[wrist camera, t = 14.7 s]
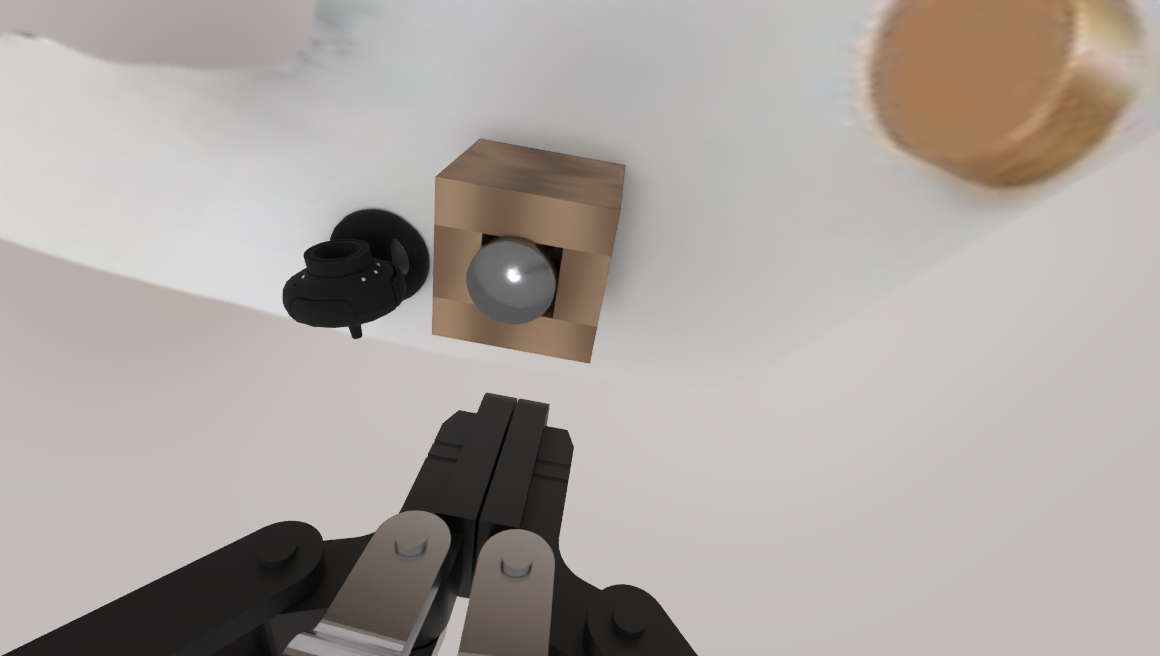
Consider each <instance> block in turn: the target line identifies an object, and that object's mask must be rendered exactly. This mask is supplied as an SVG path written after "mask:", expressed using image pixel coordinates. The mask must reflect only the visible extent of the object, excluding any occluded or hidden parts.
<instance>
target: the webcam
mask: <svg viewBox="0 0 1160 656" xmlns="http://www.w3.org/2000/svg"><path fill="white" fill-rule="evenodd" d="M392 239H396V240H397V241H398V242H399V243H400V244H401V245H402V247H403V248H404V250H405V251H406V254H407V256H408V260H409V270H408V273H407V275H406V277H405V278H404V275H403V273H402V271H401V270H400V269H399V268H398V267H397V266H396V265H395V264H393V262H392V256H391V241H392ZM304 259H305V263H306V266H307V268H305V269H303V270H302V271H300V272H299V273H297V274H296V275H294V276H292V277H291V278H290V279H289V280H288V281H287V282H286V284H285V286H284V288H283V304H284V307H285V309H286V310H287V312H288V314H289V315H290V316H291V317H292V318H293V319H294V320H296V321H297V322H299V323H303V324H307V325H310V326H313V327H326V328H337V327H349V329H350V332H351V335H352V338H354V339H358V338H361V337H362V330H361V324H364V323H367V322H371V321H374V320H376V319H378V318H380V317H382V316H385V315H387V314H388V313H390V312H391V311H393V310H395V308H396V307H397V306H399V305H400V303H401V302H402V301H403V300H405V299H407V298H410V297H411V296H413V295H414V294H415V293H416V292H417V291H419V289H420V288H421V287H422V285H423V284H424V282H425V279H426V277H427V273H428V255H427V252H426V249H425V246H424V244H423V242H422V240H421V238H420V237H419V235H418V234H417V233H416V231H415V230H413V229H412V228H411V227H410V226H409V225H408V224H406V223H405V222H404V221H402V220H401V219H400V218H399V217H397V216H395V215H392V214H390V213H387V212H383V211H380V210H361V211H357V212H354V213H352V214H350V215H348V216H346V217H345V218H344V219H343V220H342V221H341V222H340V223H339V224H338V225H337V226H336V227H335V228H334V230H333V233H332V235H331V237H330V241H327V242H323V243H319V244H317V245H315V246H312V247H310V248H309V249H307V250H306V251H305V252H304Z"/></svg>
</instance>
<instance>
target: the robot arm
mask: <svg viewBox="0 0 1160 656" xmlns="http://www.w3.org/2000/svg"><path fill="white" fill-rule="evenodd" d="M548 413H549V404H546V403H541V402H535V401H530V400H524V399H519V400H518V402H517V398H513V397H507V396H502V395H496V394H491V393H486V394H485V395H484V397H483V400H482V402H481V405H480V407H479V409H478V412H477V413H471V412H466V411H460V410H459V411H458V412H456V413H455V414H454V415H452V416H451V417H450V418H449V419H448V420H446V421H445V422H444V423H443V424H442V426H441V428H440V430H439V433H438V434H437V436H436V439H435V442H434V444H433V445H432V447H431V449H430V451H429V453H428V457H427V458H426V459H425V461H424V463H423V465H422V467H421V470H420V472H419V474H418V476H417V478H416V480H415V482H414V484H413V486H412V489H411V490H410V492H409V494H408V496H407V498H406V501H405V503H404V505H403V507H402V509H401V510H400V512H399V514H397V515H394V516H393V517H391V518H389V519H388V520H386V521H385V522H383V523H382V524H381V526H379V528H378V529H377V530H376V532H374V533H372V534H369V535H365V536H361V537H355V538H346V539H336V540H327V541H323V539H322V536H321V534H320V532H319V531H318V530H317V529H316V528H314V527H313V526H312V525H309V524H307V523H304V522H300V521H284V522H278V523H274V524H271V525H269V526H266V527H264V528H261V529H259V530H257V531H256V532H253V533H251V534H249V535H247V536H245V537H243V538H241V539H239V540H237V541H235V542H233V543H231V544H229V545H227V546H225V547H223V548H221V549H219V550H217V551H215V552H212V553H210V554H208V555H206V556H204V557H202V558H200V559H198V560H196V561H194V562H192V563H190V564H188V565H186V566H184V567H182V568H180V569H178V570H176V571H174V572H172V573H170V574H168V575H166V576H163V577H161V578H159V579H157V580H155V581H153V582H151V583H149V584H147V585H145V586H143V587H141V588H139V589H137V590H135V591H133V592H131V593H129V594H127V595H125V596H123V597H121V598H119V599H117V600H114V601H113V602H110V603H109V604H106V605H104V606H102V607H100V608H98V609H96V610H94V611H92V612H90V613H88V614H86V615H84V616H82V617H80V618H78V619H76V620H74V621H72V622H70V623H68V624H66V625H63V626H61V627H59V628H57V629H55V630H53V631H51V632H49V633H47V634H45V635H43V636H41V637H39V638H37V639H35V640H33V641H31V642H29V643H27V644H25V645H23V646H21V647H19V648H17V649H14V650H12V651H10V652H8V653H7V654H4V655H2V656H437V655H438V652H439V650H440V647H441V645H442V642H443V640H444V637H445V633H446V629H447V624H448V621H449V619H450V616H451V613H452V610H453V606H454V603H455V600H456V597H457V596H459V597H464V598H470V600H469V605H468V609H467V614H466V618H465V623H464V628H463V632H462V637H461V642H460V646H459V651H458V655H457V656H697V654H696V653H695V652H694V650H693V649H692V648H691V646H690V645H689V643H688V642H687V641H686V640H685V638H684V637H683V635H682V634H681V633H680V631H679V630H678V628H677V627H676V626H675V625H674V623H673V622H672V620H671V619H670V618H669V616H668V615H667V614H666V612H665V611H664V610H663V608H662V607H661V605H660V604H659V603H658V602H657V601H656V600H655V598H653V597H652V596H651V595H650V594H649V593H647V592H645V591H644V590H642V589H640V588H638V587H634V586H631V585H625V584H622V585H621V584H620V585H613V586H610V587H607V588H605V589H604V590H600V589H598V588H596V587H595V586H593V585H591V584H589V583H587V582H585V581H584V580H582V579H580V578H579V577H577V576H576V575H575V574H574V573H572V571H571V570H570V569H569V568H568V567H567V566H566V564H565V563H564V561H563V559H562V557H561V554H560V551H559V534H560V528H561V522H562V516H563V510H564V504H565V498H566V492H567V486H568V480H569V474H570V467H571V461H572V456H573V449H574V446H573V444H572V441H571V438H570V436H569V433H568V431H567V430H564V429H558V428H553V427H548V426H547V420H548Z"/></svg>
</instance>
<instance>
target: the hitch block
mask: <svg viewBox="0 0 1160 656" xmlns="http://www.w3.org/2000/svg"><path fill="white" fill-rule="evenodd" d="M624 171H625V165H621V164H615V163H610V162H604V161H599V160H593V159H588V158H582V157H577V156H571V155H566V154H560V153H555V152H549V151H544V150H539V149H533V148H528V147H522V146H517V145H511V144H506V143H500V142H495V141H489V140H484V139H479V140H478V141H477V142H476V143H474V144H473V145H472V146H471V147H470V148H469V149H467V150H466V151H465V152H464V153H463V154H462V155H460V156H459V157H458V158H457V159H456V160H455V161H453V162H452V163H451V164H450V165H449V166H448V167H446V168H445V169H444V170H443V171H442V172H441V173H439V174H438V175H437V176H436V180H435V225H434V270H433V315H432V335H438V336H443V337H449V338H454V339H459V340H465V341H470V342H476V343H481V344H487V345H492V346H497V347H503V348H508V349H514V350H519V351H525V352H530V353H535V354H541V355H546V356H552V357H557V358H563V359H568V360H574V361H579V362H584V363H590V360H591V355H592V350H593V345H594V340H595V335H596V330H597V325H598V320H599V315H600V310H601V305H602V300H603V295H604V290H605V285H606V280H607V275H608V270H609V265H610V260H611V255H612V250H613V245H614V240H615V235H616V230H617V225H618V220H619V215H620V209H621V199H622V190H623V181H624ZM501 236H520V237H524V238H527V239H529V240H531V241H533V242H535V243H539V244H544V245H550V246H555V247H561V248H563V254H562V255H560V254H555V253H550V257H551V259H552V261H553V263H554V265H555V268H556V272H557V286H556V290H555V294H554V297H553V300H552V302H551V305H550V306H549V308H548V309H547V310H546V312H545V313H544V314H543V315H542V316H540V317H539V318H537V319H535V320H533V321H531V322H528V323H524V324H506V323H502V322H499V321H496V320H494V319H492V318H490V317H488V316H487V315H485V314H484V313H483V312H482V311H480V310H479V308H478V307H477V306H476V305H475V304H474V302H473V301H472V299H471V297H470V295H469V293H468V289H467V284H466V275H467V270H468V267H469V265H470V263H471V261H472V259H473V258H474V256H475V255H476V253H477V252H478V250H479V249H480V248H481V247H482V246H483V245H484V244H485V243H487V242H488V241H490V240H492V239H494V238H497V237H501Z"/></svg>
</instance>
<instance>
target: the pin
mask: <svg viewBox="0 0 1160 656" xmlns="http://www.w3.org/2000/svg"><path fill="white" fill-rule="evenodd" d="M552 248H553V246H550V245H544V244H539V243H535V242H533V241H531V240H529V239H527V238H524V237H520V236H501V237H497V238H494V239H492V240H490V241H488V242H487V243H485V244H484V245H483V246H482V247H481V248H480V249H479V250H478V252H477V253H476V255H475V256H474V258H473V259H472V261H471V263H470V265H469V267H468V270H467V275H466V284H467V289H468V293H469V295H470V297H471V299H472V301H473V302H474V304H475V305H476V306H477V307H478V308H479V310H480V311H482V312H483V313H484V314H485V315H487V316H488V317H490V318H492V319H494V320H496V321H499V322H502V323H506V324H524V323H528V322H531V321H533V320H535V319H537V318H539V317H540V316H542V315H543V314H544V313H545V312H546V310H547V309H548V308H549V306H550V305H551V302H552V300H553V297H554V294H555V290H556V286H557V272H556V268H555V265H554V263H553V261H552V259H551V257H550V253H551V251H552Z"/></svg>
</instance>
